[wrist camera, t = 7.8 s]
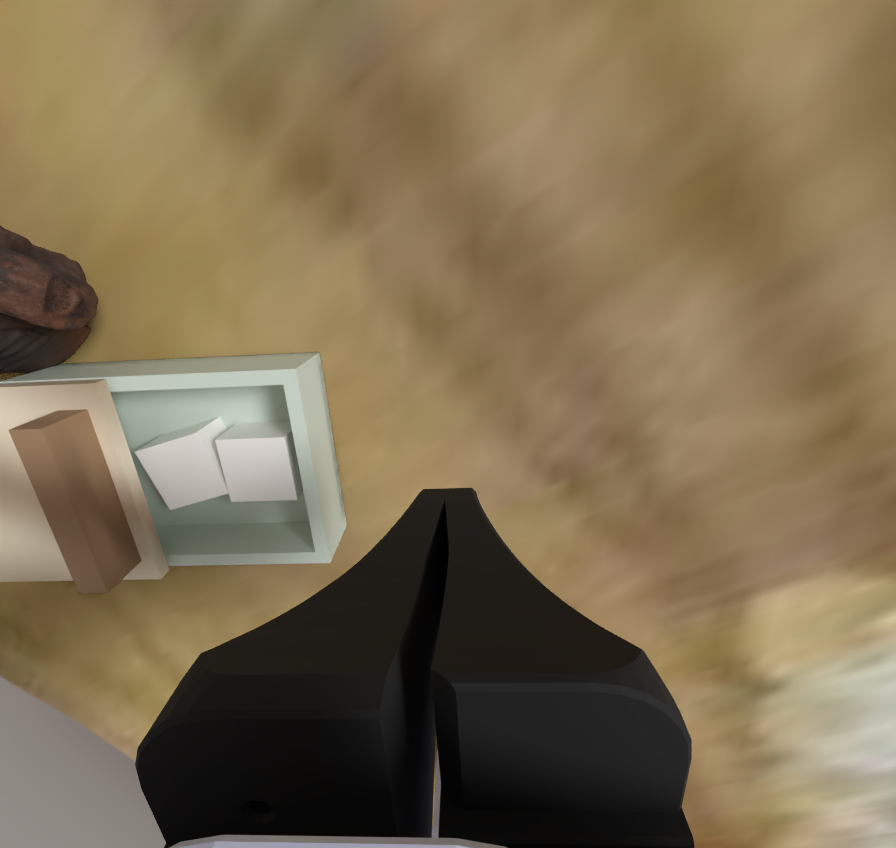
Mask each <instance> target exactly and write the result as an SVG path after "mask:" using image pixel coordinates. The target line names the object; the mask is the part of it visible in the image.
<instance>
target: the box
mask: <svg viewBox="0 0 896 848" xmlns="http://www.w3.org/2000/svg"><path fill="white" fill-rule="evenodd" d="M94 379H106V381H107V384H108V387H109V390H110V393H111V396H112V399H113V402H114V405H115V408H116V411H117V414H118V417H119V420H120V423H121V426H122V429H123V432H124V435H125V438H126V441H127V444H128V447H129V450H130V453H131V456H132V459H133V462H134V465H135V468H136V471H137V474H138V477H139V480H140V483H141V486H142V489H143V492H144V495H145V498H146V501H147V504H148V507H149V510H150V513H151V516H152V519H153V522H154V525H155V528H156V531H157V534H158V537H159V540H160V543H161V546H162V549H163V552H164V555H165V558H166V561H167V564H168V566H197V565H249V564H301V563H330V562H331V560H332V558H333V556H334V553H335V551H336V549H337V546H338V544H339V542H340V539H341V537H342V535H343V533H344V530H345V528H346V526H347V524H346V518H345V512H344V505H343V499H342V492H341V486H340V480H339V473H338V467H337V460H336V454H335V448H334V441H333V435H332V429H331V422H330V416H329V409H328V403H327V397H326V390H325V384H324V377H323V371H322V365H321V358H320V352H311V353H289V354H267V355H245V356H223V357H201V358H179V359H157V360H135V361H113V362H91V363H69V364H60V365H56V366H53V367H49V368H46V369H42V370H39V371H35V372H32V373H28V374H25V375H21V376H18V377H14V378H11V379H7V380H4V381H0V384H1V383H24V382H47V381H71V380H94ZM216 417H220V419H221V420H222V422H223V424H224V426H225V428H226V430H228V429H230V428H231V427H232V426H234V425H235V424H236V423H246V422H271V421H290V423H291V428H292V433H293V438H294V444H295V449H296V454H297V459H298V465H299V470H300V475H301V480H302V486H303V492H302V494H301V495H300V497H299V498H298V499H297V500H281V501H247V502H231V500H230V496H229V493H228V494H225V495H221V496H218V497H214V498H211V499H207V500H204V501H200V502H197V503H193V504H190V505H186V506H183V507H179V508H176V509H172V510H170V509H169V507H168V506H167V504H166V503H165V501H164V499H163V498H162V496H161V495H160V493H159V491H158V490H157V488H156V486H155V485H154V483H153V482H152V480H151V478H150V477H149V475H148V473H147V472H146V470H145V469H144V467H143V465H142V464H141V462H140V460H139V459H138V457H137V456H136V454H135V451H137V450H138V449H140V448H142V447H143V446H145V445H147V444H148V443H150V442H152V441H153V440H155V439H156V438H158V437H160V436H161V435H163V434H166V433H169V432H172V431H175V430H178V429H182V428H185V427H188V426H191V425H194V424H197V423H201V422H204V421H207V420H210V419H213V418H216Z"/></svg>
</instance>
